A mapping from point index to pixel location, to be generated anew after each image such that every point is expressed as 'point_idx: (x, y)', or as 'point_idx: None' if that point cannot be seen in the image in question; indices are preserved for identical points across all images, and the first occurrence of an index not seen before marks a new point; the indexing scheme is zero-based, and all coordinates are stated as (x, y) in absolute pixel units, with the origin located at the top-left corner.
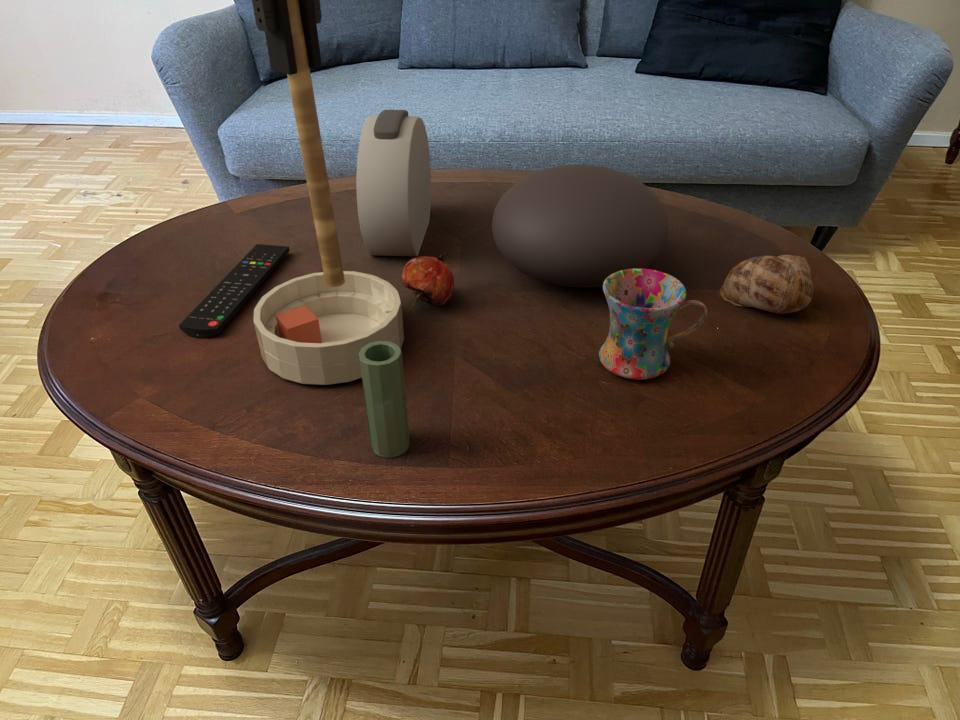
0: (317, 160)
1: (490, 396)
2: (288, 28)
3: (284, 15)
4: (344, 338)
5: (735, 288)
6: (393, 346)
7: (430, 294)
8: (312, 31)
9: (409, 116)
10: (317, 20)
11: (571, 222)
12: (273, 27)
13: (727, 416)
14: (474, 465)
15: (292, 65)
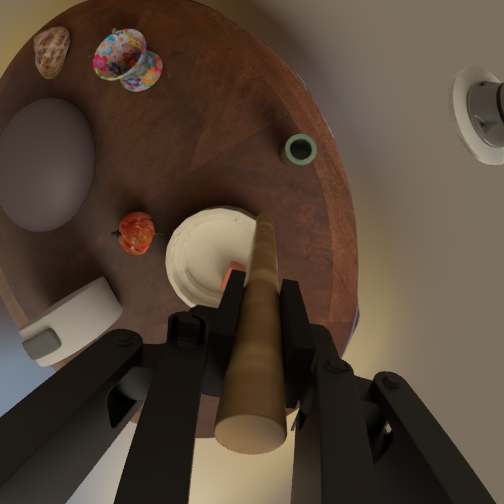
0: (269, 241)
1: (217, 126)
2: (294, 308)
3: (301, 320)
4: (216, 252)
5: (59, 59)
6: (289, 144)
7: (150, 219)
8: (237, 292)
9: (25, 337)
10: (203, 308)
11: (61, 139)
12: (313, 327)
13: (168, 15)
14: (280, 102)
15: (291, 284)
